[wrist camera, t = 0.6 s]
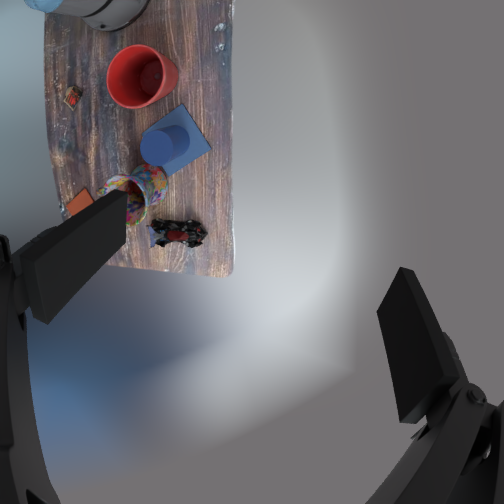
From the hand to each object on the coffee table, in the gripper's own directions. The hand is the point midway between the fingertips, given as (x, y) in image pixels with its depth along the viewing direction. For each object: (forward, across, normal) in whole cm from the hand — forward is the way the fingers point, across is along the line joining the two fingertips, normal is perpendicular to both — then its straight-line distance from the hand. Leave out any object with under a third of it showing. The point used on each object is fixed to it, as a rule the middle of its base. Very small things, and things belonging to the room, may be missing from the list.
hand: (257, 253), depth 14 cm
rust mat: (+43, -40, -25) cm, 64 cm away
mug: (+43, -25, -15) cm, 52 cm away
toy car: (+43, -16, -24) cm, 52 cm away
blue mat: (+43, -20, -6) cm, 48 cm away
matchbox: (+43, -45, 0) cm, 63 cm away
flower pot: (+43, -25, +6) cm, 50 cm away
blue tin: (+42, -20, -6) cm, 47 cm away
